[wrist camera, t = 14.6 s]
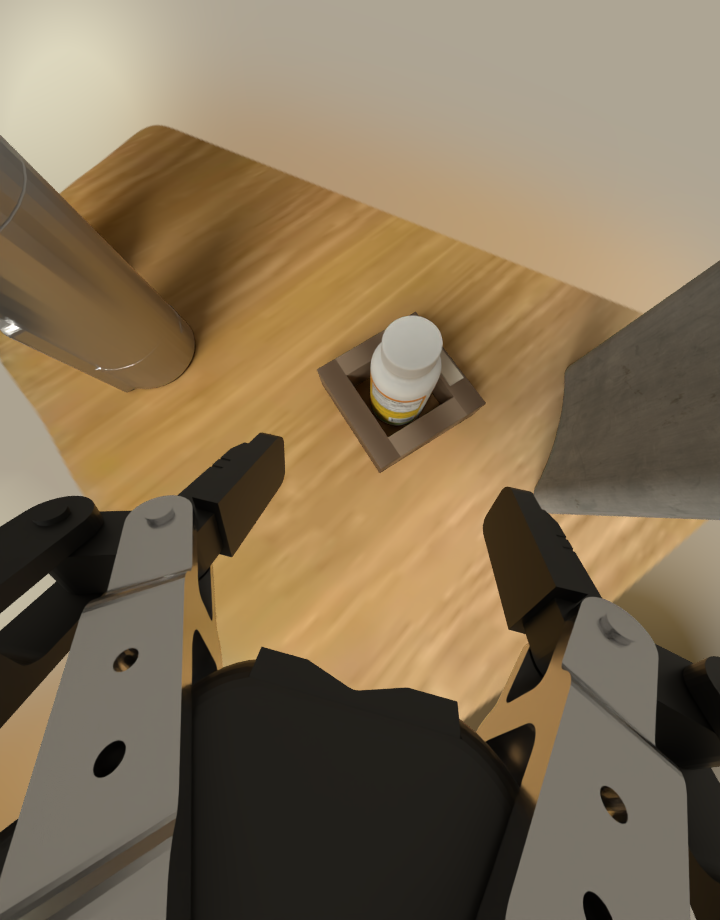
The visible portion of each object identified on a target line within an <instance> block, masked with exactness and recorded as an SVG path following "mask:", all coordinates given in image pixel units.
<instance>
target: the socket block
mask: <svg viewBox="0 0 720 920" xmlns="http://www.w3.org/2000/svg"><path fill="white" fill-rule="evenodd" d="M409 316H419V315H418V314H417V313H416V312H414V313H413V314H411V315H409ZM385 330H386V329H385ZM385 330H384V331H382V332H380V333H378V334H377V335H375V336H373V337H372V338H370V339H368V340H366V341H365V342H363V343H361V344H360V345H358V346H356V347H354V348H353V349H351V350H349V351H348V352H346V353H344V354H342V355H341V356H339V357H337V358H336V359H334V360H332V361H331V362H329V363H327V364H325V365H324V366H322V367H320V368H319V369H317V371H318V374H319V377H320V379H321V382H322V384H323V386H324V388H325V389H326V391H327V392H328V394H329V395H330V397H331V398H332V400H333V402H334V403H335V405H336V406H337V408H338V409H339V411H340V412H341V414H342V416H343V417H344V419H345V420H346V422H347V423H348V425H349V426H350V428H351V430H352V431H353V433H354V434H355V436H356V437H357V439H358V440H359V442H360V444H361V445H362V447H363V448H364V450H365V451H366V453H367V454H368V456H369V457H370V459H371V461H372V462H373V464H374V465H375V467H376V468H377V470H378V471H379V473H381V472H382V471H384V470H386V469H387V468H389V467H390V466H392V465H394V464H395V463H397V462H398V461H400V460H402V459H403V458H405V457H406V456H408V455H409V454H411V453H413V452H414V451H416V450H417V449H419V448H421V447H422V446H424V445H425V444H427V443H429V442H430V441H432V440H433V439H435V438H437V437H438V436H440V435H441V434H443V433H445V432H446V431H448V430H449V429H451V428H453V427H454V426H456V425H457V424H459V423H461V422H462V421H464V420H465V419H467V418H468V417H470V416H472V415H473V414H474V413H475V412H476V411H478V410H479V409H480V408H481V407H482V406H483V405H484V404H485V401H484V400H483V399H482V397H481V396H480V395H479V394H478V392H477V391H476V390H475V388H474V387H473V386H472V384H471V383H470V382H469V381H468V379H467V378H466V377H465V375H464V374H463V373H462V371H461V370H460V369H459V368H458V366H457V365H456V364H455V362H454V361H453V360H452V358H451V357H450V356H449V355H448V353H447V352H446V351H445V349H444V348H443V347H442V351H441V353H440V358H441V373H440V377H439V379H438V381H437V384H436V385H435V387H434V389H433V391H432V393H433V395H434V396H435V397H436V399H437V400H438V401H439V403H440V404H441V405H440V406H438V407H437V408H435V409H433V410H432V411H430V412H428V413H427V414H425V415H424V416H422V417H420V418H419V419H417V420H416V421H414V422H412V423H411V424H409V425H407V426H406V427H404V428H403V429H401V430H399V431H398V432H396V433H394V434H393V435H391V436H390V437H387V435H386V434H385V432H384V431H383V429H382V428H381V426H380V425H379V423H378V422H377V420H376V419H375V417H374V416H373V414H372V413H371V411H370V410H369V408H368V407H367V405H366V404H365V402H364V401H363V400H362V398H361V397H360V395H359V394H358V392H357V391H356V389H355V388H354V387H355V386H356V385H358V384H360V383H361V382H363V381H365V380H366V379H368V378H370V367H371V359H372V356H373V353H374V351H375V349H376V348H377V347H378V345H379V344H380V343H381V342H382V337H383V334H384V332H385Z"/></svg>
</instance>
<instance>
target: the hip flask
mask: <svg viewBox="0 0 720 920" xmlns="http://www.w3.org/2000/svg"><path fill="white" fill-rule="evenodd" d="M534 496H535V498H536V500H537V502H538V503H539V505H540V507H541V509H543V510H545V511H546V512H547V513H551V514H575V515H601V516H628V517H654V518H681V519H708V520H720V261H718V262H717V263H716V264H714V265H713V266H711V267H710V268H708V269H707V270H706V271H704V272H703V273H701V274H700V275H698V276H697V277H696V278H694V279H693V280H691V281H690V282H688V283H687V284H686V285H684V286H683V287H681V288H680V289H679V290H677V291H676V292H674V293H673V294H671V295H670V296H669V297H667V298H666V299H664V300H663V301H661V302H660V303H659V304H657V305H656V306H654V307H653V308H651V309H650V310H649V311H647V312H646V313H644V314H643V315H641V316H640V317H639V318H637V319H636V320H634V321H633V322H631V323H630V324H629V325H627V326H626V327H624V328H623V329H621V330H620V331H619V332H617V333H616V334H614V335H613V336H612V337H610V338H609V339H607V340H606V341H604V342H603V343H602V344H600V345H599V346H597V347H596V348H594V349H593V350H592V351H590V352H589V353H587V354H586V355H584V356H583V357H582V358H580V359H579V360H577V361H576V362H574V363H573V364H572V365H570V366H569V367H568V368H567V369H566V372H565V386H564V398H563V406H562V413H561V417H560V422H559V426H558V430H557V434H556V438H555V442H554V445H553V448H552V451H551V454H550V457H549V459H548V462H547V464H546V467H545V469H544V471H543V474H542V476H541V478H540V480H539V482H538V484H537V485H536V487H535V490H534Z"/></svg>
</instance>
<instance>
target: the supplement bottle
mask: <svg viewBox="0 0 720 920" xmlns="http://www.w3.org/2000/svg"><path fill="white" fill-rule="evenodd" d="M442 345H443V341H442V336H441V333H440V331H439V329H438V328H437V327H436V326H435V325H434V324H433V323H432V322H431V321H429V320H428V319H426V318H423V317H420V316H405V317H401V318H399V319H397V320H395V321H393V322H392V323H391V324H390V325H389V326H388V327H387V328H386V330H385V332H384V334H383V337H382V342H381V343H380V344H379V345H378V347H377V348H376V349H375V351H374V353H373V356H372V359H371V367H370V402H371V407H372V410H373V412H374V413H375V415H376V416H377V417H378V418H379V419H380V420H381V421H383V422H385V423H387V424H390V425H395V426H400V425H405V424H408V423H410V422H412V421H413V420H415V419H416V418H417V417H418V416H419V414H420V413H421V411H422V410H423V408H424V406H425V404H426V402H427V400H428V398H429V396H430V395H431V393H432V391H433V389H434V387H435V385H436V384H437V381H438V379H439V377H440V373H441V358H440V353H441V351H442Z"/></svg>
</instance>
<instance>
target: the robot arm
mask: <svg viewBox="0 0 720 920" xmlns="http://www.w3.org/2000/svg"><path fill="white" fill-rule="evenodd" d="M0 330H1V331H2V332H3V333H4V334H5V335H6V336H8V337H10V338H12V339H14V340H16V341H18V342H20V343H23V344H25V345H27V346H29V347H31V348H33V349H35V350H37V351H40V352H42V353H44V354H46V355H48V356H50V357H52V358H54V359H57V360H59V361H61V362H63V363H65V364H67V365H69V366H71V367H73V368H76V369H78V370H80V371H82V372H84V373H86V374H88V375H90V376H93V377H95V378H97V379H99V380H101V381H103V382H105V383H107V384H110V385H112V386H114V387H116V388H118V389H120V390H122V391H124V392H129V391H131V390H133V389H135V388H143V389H151V388H157V387H160V386H163V385H166V384H168V383H170V382H172V381H173V380H175V379H176V378H177V377H179V376H180V375H181V374H182V373H183V372H184V370H185V369H186V368H187V367H188V365H189V363H190V361H191V360H192V357H193V354H194V348H195V340H194V335H193V332H192V330H191V328H190V327H189V325H188V324H187V323H186V322H185V320H184V319H183V318H182V317H181V316H180V315H179V314H178V313H177V312H176V311H175V310H174V309H173V308H172V307H171V306H170V305H169V304H168V303H167V302H166V301H165V300H164V299H163V298H162V297H161V296H160V295H159V294H158V293H157V292H156V291H155V290H154V289H153V288H152V287H151V286H150V285H149V284H148V283H147V282H146V281H145V280H144V279H143V278H142V277H141V276H140V275H139V274H138V273H137V272H136V271H135V270H134V269H133V268H132V267H131V266H130V265H129V264H128V263H127V262H126V261H125V260H124V259H123V258H122V257H121V256H120V255H119V254H118V253H117V252H116V251H115V250H114V249H113V248H112V247H111V246H110V245H109V244H108V243H107V242H106V241H105V240H104V239H103V238H102V237H101V236H100V235H99V234H98V233H97V232H96V231H95V230H94V229H93V228H92V227H91V226H90V225H89V224H88V223H87V222H86V221H85V220H84V219H83V217H82V216H81V215H80V214H79V213H78V212H77V211H76V210H75V209H74V208H73V207H72V206H71V205H70V204H69V203H68V202H67V201H66V200H65V199H64V198H63V197H62V196H61V195H60V194H59V193H58V192H57V191H55V189H54V188H53V187H52V186H51V185H50V184H49V183H48V182H47V181H46V180H45V179H44V178H43V177H42V176H41V175H40V174H39V173H38V172H37V171H36V170H35V169H34V168H33V167H32V166H31V165H30V164H29V163H28V162H27V161H26V160H25V159H24V158H23V157H22V156H21V155H20V154H19V153H18V152H17V151H16V150H15V149H14V148H13V147H12V146H11V145H10V144H9V143H8V142H7V141H6V140H5V139H4V138H3V137H2V136H1V135H0ZM284 475H285V457H284V440H283V438H282V437H280V436H275V435H271V434H266V433H259V434H258V435H257V436H256V437H255V438H254V439H253V440H252V441H251V442H250V443H242V444H240V445H238V446H236V447H233V448H231V449H230V450H229V451H228V452H226V453H225V454H224V455H223V456H222V457H221V459H218V460H217V461H216V462H215V463H214V464H213V465H212V467H209V468H208V469H207V470H206V471H205V472H204V473H202V474H201V475H200V476H199V477H198V478H197V479H196V480H195V481H193V482H192V483H191V484H190V485H189V486H188V487H187V488H185V489H184V490H183V491H182V492H181V493H180V494H179V495H177V496H174V495H170V496H162V497H157V498H154V499H151V500H149V501H146V502H144V503H143V504H141V505H139V506H138V507H136V508H135V509H134V510H133V511H105V512H99V510H98V509H97V507H96V506H95V504H94V503H93V501H92V500H91V499H89V498H87V497H83V496H67V497H61V498H56V499H53V500H49V501H46V502H43V503H41V504H38V505H36V506H34V507H32V508H30V509H28V510H27V511H25V512H23V513H22V514H20V515H18V516H17V517H15V518H14V519H12V520H10V521H9V522H7V523H6V524H4V525H2V526H1V527H0V613H1V612H3V611H4V610H5V609H6V608H7V607H9V606H10V605H11V604H12V603H13V602H15V601H16V600H17V599H18V598H19V597H21V596H22V595H23V594H24V593H25V592H27V591H28V590H29V589H30V588H31V587H33V586H34V585H35V584H36V583H37V582H39V581H40V580H41V579H42V578H43V577H45V576H46V575H47V574H48V573H49V574H50V575H51V576H52V577H53V578H54V579H55V580H56V582H55V583H54V584H53V585H52V586H51V587H50V588H48V589H47V590H46V591H45V592H44V593H43V594H42V595H41V596H39V597H38V598H37V599H36V600H35V601H34V602H32V603H31V604H30V605H29V606H28V607H27V608H26V609H24V610H23V611H22V612H21V613H20V614H19V615H18V616H17V617H15V618H14V619H13V620H12V621H11V622H10V623H9V624H7V625H6V626H5V627H4V628H3V629H2V630H1V631H0V728H1V727H2V726H3V725H4V724H5V723H6V722H7V720H8V719H9V718H10V717H11V716H12V715H13V713H15V711H16V710H17V709H18V708H19V707H20V706H21V705H22V704H23V702H24V701H25V700H26V699H27V698H28V697H29V696H30V695H31V693H32V692H33V691H34V690H35V689H36V688H37V687H38V686H39V684H40V683H41V682H42V681H43V680H44V679H45V678H46V677H47V675H48V674H49V673H50V672H51V671H52V670H53V668H55V666H56V665H57V664H58V663H59V662H60V661H61V660H62V659H63V657H64V656H65V655H66V654H67V653H68V652H69V651H70V652H69V655H68V659H67V662H66V665H65V668H64V672H63V675H62V678H61V682H60V685H59V688H58V691H57V695H56V698H55V701H54V705H53V708H52V711H51V714H50V717H49V721H48V724H47V727H46V730H45V734H44V737H43V741H42V744H41V747H40V750H39V753H38V756H37V760H36V763H35V766H34V770H33V773H32V776H31V779H30V783H29V786H28V789H27V793H26V796H25V799H24V802H23V805H22V809H21V812H20V816H19V818H18V819H17V820H16V821H14V822H13V823H12V824H10V825H9V826H8V827H6V828H5V829H4V830H3V831H1V832H0V920H690V905H691V908H692V910H693V913H694V915H695V918H696V920H720V783H719V781H718V780H717V778H716V776H715V774H714V773H713V771H712V769H711V767H719V766H720V657H715V656H713V657H709V658H706V659H704V660H701V661H699V662H696V663H692V662H690V661H688V660H686V659H684V658H682V657H680V656H678V655H676V654H674V653H672V652H670V651H668V650H666V649H664V648H662V647H660V646H658V645H656V644H654V642H653V640H652V639H651V637H650V635H649V634H648V633H647V631H646V630H645V629H644V628H643V627H642V626H641V624H640V623H639V622H637V621H636V620H635V619H634V618H633V617H632V616H631V615H630V614H629V613H627V612H626V611H625V610H623V609H622V608H620V607H618V606H617V605H615V604H614V603H612V602H610V601H607V600H605V599H602V597H601V595H600V594H599V592H598V590H597V589H596V587H595V585H594V584H593V582H592V580H591V578H590V577H589V575H588V573H587V572H586V570H585V568H584V567H583V565H582V563H581V561H580V560H579V558H578V556H577V555H576V553H575V552H573V548H572V546H571V544H570V543H569V541H568V540H566V536H565V534H564V533H563V531H562V529H561V527H560V526H559V524H558V523H557V522H556V521H555V520H554V519H553V518H552V517H551V516H550V515H549V514H548V513H547V512H546V511H545V510H543V509H541V507H540V505H539V503H538V502H537V500H536V498H535V496H534V494H533V493H532V492H530V491H525V490H521V489H516V488H511V487H505V488H503V489H502V491H501V492H500V494H499V496H498V497H497V499H496V500H495V502H494V504H493V505H492V507H491V509H490V510H489V512H488V513H487V515H486V517H485V519H484V523H483V534H484V538H485V542H486V546H487V550H488V553H489V557H490V561H491V565H492V568H493V572H494V576H495V580H496V584H497V587H498V591H499V595H500V599H501V603H502V606H503V610H504V614H505V618H506V622H507V625H508V629H509V630H512V631H516V632H520V633H524V634H526V636H527V639H528V642H529V643H527V644H526V645H525V646H524V647H523V649H522V651H521V653H520V655H519V657H518V659H517V662H516V664H515V666H514V668H513V670H512V672H511V674H510V676H509V679H508V681H507V683H506V685H505V687H504V689H503V691H502V693H501V696H500V698H499V700H498V702H497V704H496V705H495V707H494V708H493V710H492V711H491V712H490V713H489V714H488V715H487V717H486V718H485V719H484V720H483V722H482V723H481V725H480V726H479V728H478V730H477V732H475V731H474V730H473V729H471V728H470V727H469V726H468V725H466V724H465V723H464V722H463V721H462V720H460V719H459V714H458V703H457V701H453V700H450V699H446V698H443V697H439V696H435V695H432V694H428V693H425V692H421V691H418V690H414V689H411V688H393V689H377V690H361V691H358V690H353V689H351V688H349V687H347V686H346V685H344V684H343V683H342V682H340V681H339V680H337V679H336V678H334V677H333V676H331V675H330V674H328V673H327V672H325V671H324V670H322V669H321V668H319V667H318V666H316V665H315V664H313V663H312V662H310V661H309V660H307V659H304V658H300V657H296V656H293V655H289V654H286V653H282V652H279V651H275V650H271V649H268V648H264V647H261V649H260V652H259V654H258V656H257V659H256V660H248V661H243V662H238V663H235V664H232V665H229V666H226V667H223V665H222V654H221V646H220V641H219V636H218V631H217V623H216V607H215V591H214V574H213V565H212V563H213V561H214V560H215V559H216V557H217V556H218V555H219V554H221V555H225V556H229V557H233V555H234V554H235V552H236V551H237V549H238V548H239V546H240V545H241V543H242V542H243V541H244V539H245V538H246V536H247V535H248V533H249V532H250V530H251V529H252V527H253V526H254V524H255V523H256V521H257V520H258V518H259V517H260V515H261V514H262V513H263V511H264V510H265V508H266V507H267V505H268V504H269V502H270V501H271V499H272V498H273V496H274V495H275V493H276V492H277V490H278V489H279V488H280V486H281V484H282V482H283V479H284Z"/></svg>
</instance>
